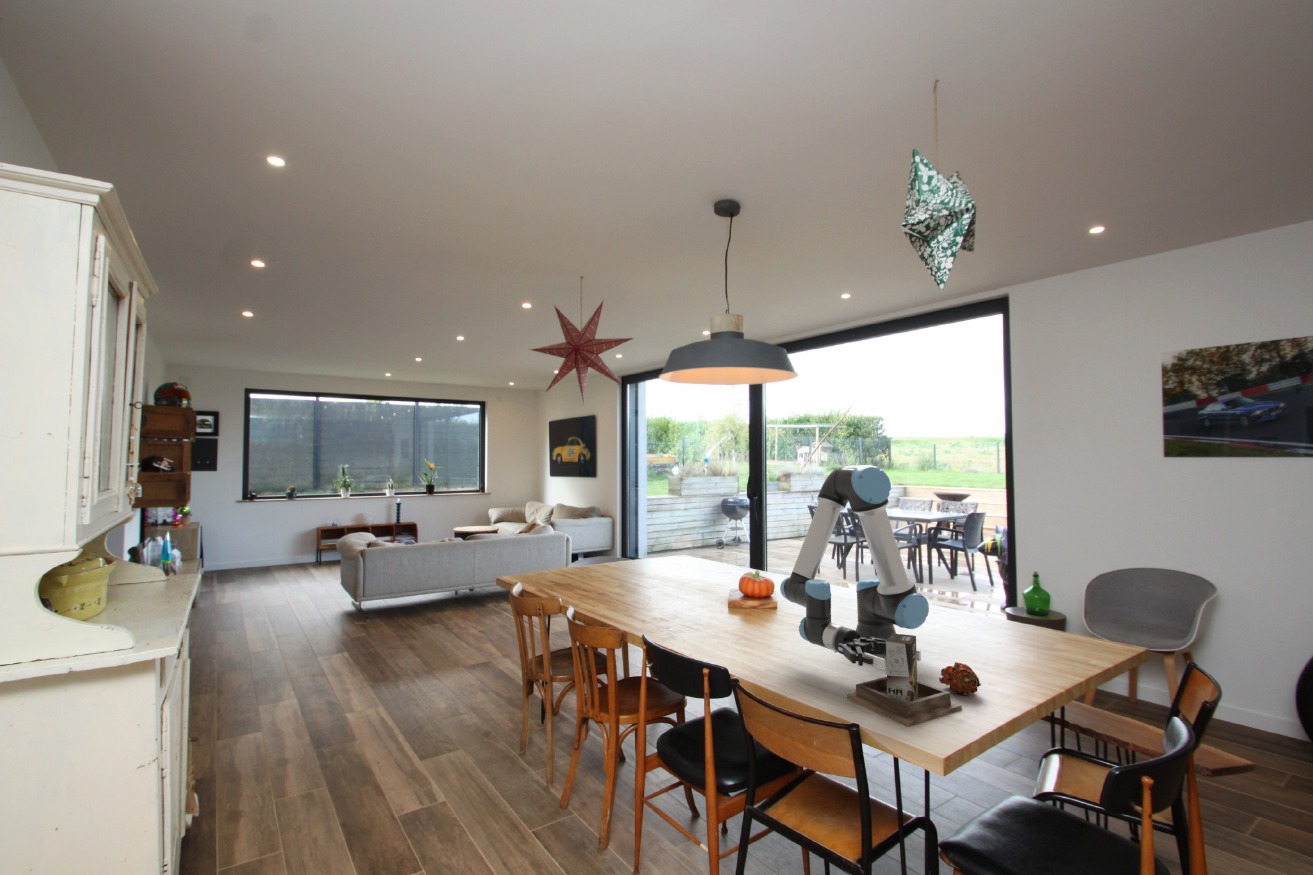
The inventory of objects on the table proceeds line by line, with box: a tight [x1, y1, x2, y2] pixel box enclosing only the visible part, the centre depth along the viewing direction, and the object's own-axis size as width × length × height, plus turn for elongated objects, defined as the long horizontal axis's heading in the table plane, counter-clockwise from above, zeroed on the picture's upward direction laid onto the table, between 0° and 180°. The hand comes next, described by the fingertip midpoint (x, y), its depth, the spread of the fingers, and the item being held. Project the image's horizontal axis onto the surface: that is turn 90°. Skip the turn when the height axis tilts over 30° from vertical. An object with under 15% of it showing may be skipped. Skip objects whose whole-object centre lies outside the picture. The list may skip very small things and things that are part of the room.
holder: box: [845, 676, 963, 727], centre depth 160 cm, size 20×20×4 cm
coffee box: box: [885, 633, 919, 703], centre depth 161 cm, size 9×6×16 cm
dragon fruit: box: [938, 661, 982, 696], centre depth 168 cm, size 8×8×12 cm
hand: (902, 660), depth 160 cm, fingers open, 13 cm apart
